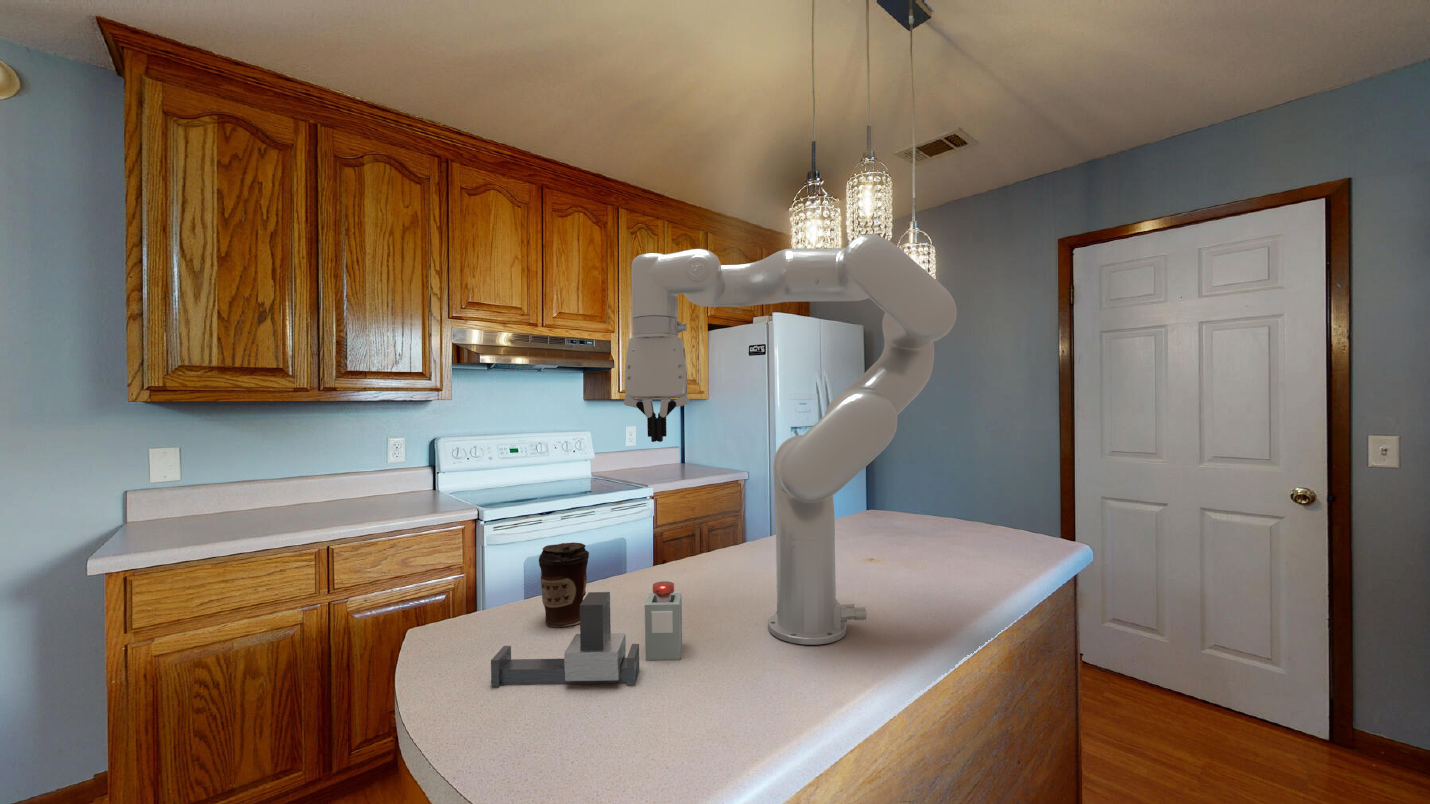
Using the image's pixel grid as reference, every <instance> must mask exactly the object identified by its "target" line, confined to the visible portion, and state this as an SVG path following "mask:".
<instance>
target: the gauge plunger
mask: <svg viewBox="0 0 1430 804" xmlns="http://www.w3.org/2000/svg"><path fill="white" fill-rule="evenodd" d="M652 593H654V594H656V603H661V602H671V593H675V584H674V582H671V581H668V580H667V581H666V580H665V581H664V580H663V581H656V582H655V583H653V584H652Z"/></svg>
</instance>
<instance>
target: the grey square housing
mask: <svg viewBox="0 0 1430 804" xmlns="http://www.w3.org/2000/svg"><path fill="white" fill-rule="evenodd" d="M682 599H683V598H682V592H673V593H671V602H661V603H656V594H654V593H653V592H650V593H648V596H647V598H646V599H645V603H644V633H645V634H644V638H645V642H644V643H645V648H644V649H645V661H672V660H673V661H674V660H677V661H678V660H681V657H682V655H681V654H682V649H683V615H682V614H683V612H682V611H683V610H682V607H683V606H682V605H683V603H682V602H683V601H682Z"/></svg>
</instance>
